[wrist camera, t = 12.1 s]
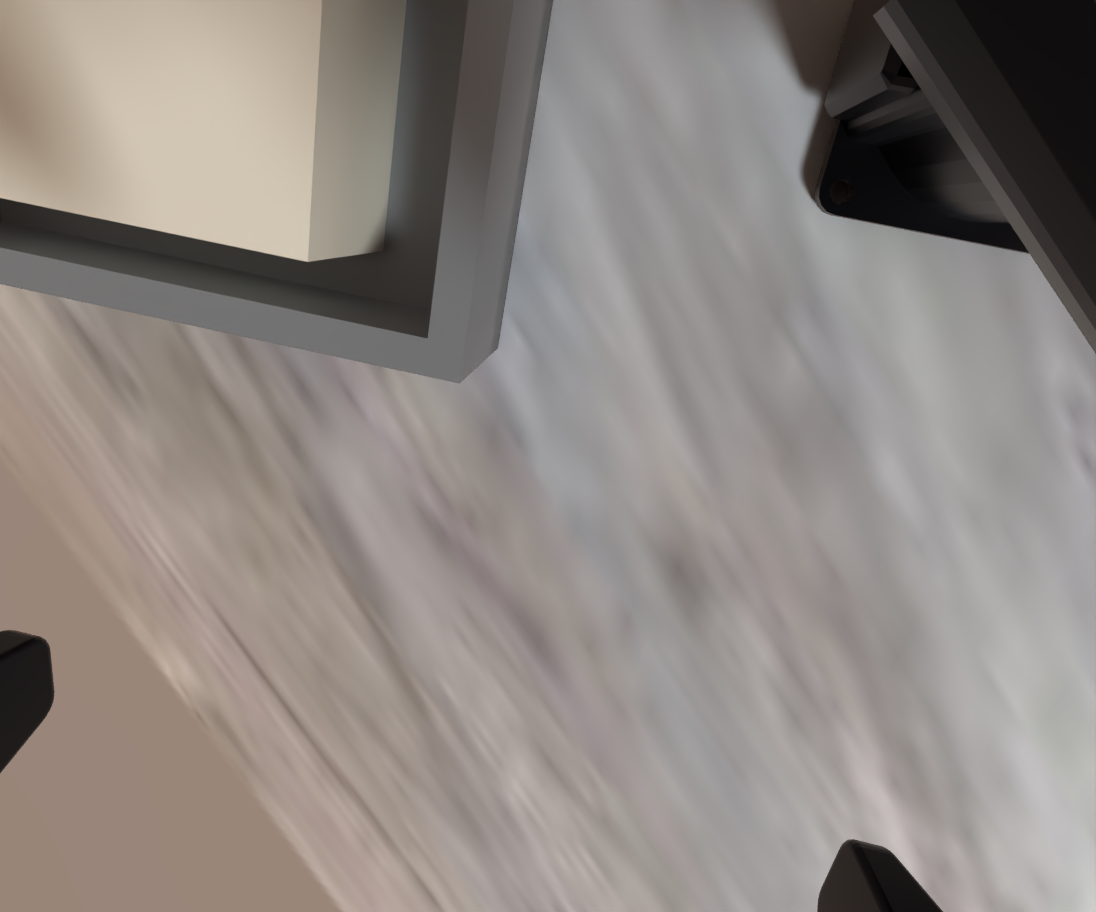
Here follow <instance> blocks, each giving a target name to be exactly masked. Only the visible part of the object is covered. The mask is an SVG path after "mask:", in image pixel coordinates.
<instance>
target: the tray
mask: <svg viewBox="0 0 1096 912" xmlns="http://www.w3.org/2000/svg"><path fill="white" fill-rule="evenodd" d="M552 4H553V0H407V1H406V12H405V23H404V33H403V44H402V55H401V66H400V76H399V87H398V98H397V109H396V119H395V130H394V141H393V151H392V162H391V173H390V184H389V194H388V205H387V216H386V227H385V237H384V248H383V251H380V252H373V253H366V254H359V255H352V256H345V257H338V258H331V259H324V260H317V261H311V262H306V261H301V260H296V259H291V258H287V257H282V256H277V255H272V254H267V253H263V252H258V251H253V250H248V249H243V248H239V247H234V246H229V245H224V244H219V243H215V242H210V241H205V240H200V239H195V238H191V237H186V236H181V235H176V234H171V233H166V232H162V231H157V230H152V229H147V228H142V227H138V226H133V225H128V224H123V223H118V222H114V221H109V220H104V219H99V218H94V217H90V216H85V215H80V214H75V213H70V212H66V211H61V210H56V209H51V208H46V207H42V206H37V205H32V204H27V203H22V202H18V201H13V200H8V199H3V198H0V284H3V285H7V286H12V287H17V288H21V289H26V290H30V291H35V292H40V293H44V294H49V295H54V296H58V297H63V298H67V299H72V300H77V301H81V302H86V303H91V304H95V305H100V306H104V307H109V308H114V309H118V310H123V311H128V312H132V313H137V314H141V315H146V316H151V317H155V318H160V319H164V320H169V321H174V322H178V323H183V324H188V325H192V326H197V327H201V328H206V329H211V330H215V331H220V332H225V333H229V334H234V335H238V336H243V337H248V338H252V339H257V340H262V341H266V342H271V343H275V344H280V345H285V346H289V347H294V348H299V349H303V350H308V351H312V352H317V353H322V354H326V355H331V356H336V357H340V358H345V359H349V360H354V361H359V362H363V363H368V364H373V365H377V366H382V367H386V368H391V369H396V370H400V371H405V372H409V373H414V374H419V375H423V376H428V377H433V378H437V379H442V380H446V381H451V382H456V383H461V382H462V381H463V380H464V379H465V378H466V377H467V376H468V375H469V374H470V373H471V372H472V371H474V370H475V369H476V368H477V367H478V366H479V365H480V364H481V363H482V362H483V361H484V360H485V359H487V358H488V357H489V356H490V355H491V354H492V353H493V352H494V351H495V350H496V349H497V348H498V343H499V337H500V330H501V324H502V318H503V312H504V305H505V299H506V293H507V286H508V280H509V274H510V268H511V261H512V255H513V249H514V242H515V236H516V230H517V224H518V217H519V211H520V205H521V198H522V192H523V186H524V180H525V173H526V167H527V161H528V154H529V148H530V142H531V136H532V129H533V123H534V117H535V110H536V104H537V98H538V92H539V85H540V79H541V73H542V66H543V60H544V54H545V48H546V41H547V35H548V29H549V22H550V16H551V10H552Z"/></svg>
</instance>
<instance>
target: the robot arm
mask: <svg viewBox="0 0 1096 912" xmlns="http://www.w3.org/2000/svg"><path fill="white" fill-rule="evenodd" d="M824 106H825V108H826V110H827V112H828V114H829V116H830V117H831V118H834V119H837V120H836V123H835V126H834V129H833V133H832V136H831V139H830V143H829V146H828V149H827V152H826V156H825V159H824V162H823V166H822V169H821V172H820V176H819V179H818V182H817V185H816V190H815V200H816V204H817V206H818V207H819V208H820V209H821V211H822V212H824V213H827V214H829V215H832V216H837V217H843V218H848V219H853V220H858V221H863V222H868V223H873V224H879V225H884V226H889V227H894V228H899V229H904V230H910V231H915V232H920V233H925V234H930V235H935V236H940V237H946V238H951V239H956V240H961V241H966V242H971V243H976V244H982V245H987V246H992V247H997V248H1002V249H1007V250H1012V251H1018V252H1023V253H1028V254H1030V255H1031V256H1032V258H1033V259H1034V261H1035V262H1036V264H1037V265H1038V267H1039V268H1040V270H1041V271H1042V273H1043V274H1044V276H1045V278H1046V279H1047V281H1048V282H1049V284H1050V285H1051V287H1052V288H1053V290H1054V291H1055V293H1056V294H1057V296H1058V297H1059V299H1060V300H1061V302H1062V303H1063V305H1064V306H1065V308H1066V309H1067V311H1068V312H1069V314H1070V315H1071V317H1072V318H1073V320H1074V321H1075V323H1076V325H1077V326H1078V328H1079V329H1080V331H1081V332H1082V334H1083V335H1084V337H1085V338H1086V340H1087V341H1088V343H1089V344H1090V346H1091V347H1092V349H1093V350H1094V352H1095V353H1096V0H855V2H854V5H853V8H852V12H851V15H850V18H849V22H848V25H847V29H846V32H845V35H844V39H843V42H842V46H841V49H840V52H839V56H838V59H837V63H836V66H835V69H834V73H833V76H832V79H831V83H830V86H829V90H828V93H827V96H826V100H825V104H824ZM840 180H841V181H843V182H845V183H847V185H848V187H849V195H848V197H847V198H846V200H845V201H843V202H842V203H840V204H837V203H835V202H833V200H832V198H831V197H830V191H831V188H832V186H833V185H834V184H835V183H836V182H838V181H840ZM53 684H54V683H53V674H52V663H51V653H50V647H49V644H48V643H47V641H46V640H45V639H43V638H42V637H39V636H35V635H31V634H27V633H23V632H19V631H12V630H7V631H1V632H0V773H1V772H2V770H3V769H4V768H5V767H6V766H7V764H8V763H9V762H10V761H11V759H12V758H13V757H14V756H15V754H16V753H17V752H18V751H19V750H20V748H21V747H22V746H23V745H24V743H25V742H26V741H27V740H28V738H29V737H30V736H31V735H32V734H33V732H34V731H35V730H36V729H37V727H38V726H39V725H40V724H41V722H42V721H43V720H44V719H45V717H46V716H47V714H48V712H49V710H50V708H51V706H52V703H53V700H54V685H53ZM818 912H943V911H942V910H941V909H940V907H939V906H938V905H937V904H936V903H935V902H934V900H933V899H932V898H931V897H930V896H929V895H928V893H927V892H926V891H925V890H924V889H923V888H922V887H921V885H920V884H919V883H918V882H917V881H916V880H915V878H914V877H913V876H912V875H911V874H910V873H909V871H908V870H907V869H906V868H905V867H904V866H903V864H902V863H901V862H900V861H899V860H898V859H897V857H896V856H895V855H894V854H893V853H892V852H891V851H889V850H888V849H886V848H884V847H882V846H878V845H874V844H870V843H866V842H862V841H858V840H854V839H852V840H847V841H846V842H844V843H843V844H842V846H841V847H840V849H839V851H838V854H837V856H836V858H835V860H834V862H833V864H832V866H831V869H830V871H829V873H828V875H827V877H826V879H825V881H824V884H823V886H822V888H821V891H820V894H819V898H818Z"/></svg>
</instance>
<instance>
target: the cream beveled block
mask: <svg viewBox="0 0 1096 912" xmlns="http://www.w3.org/2000/svg"><path fill="white" fill-rule="evenodd" d="M406 1H407V0H0V198H3V199H8V200H13V201H18V202H22V203H27V204H32V205H37V206H42V207H46V208H51V209H56V210H61V211H66V212H70V213H75V214H80V215H85V216H90V217H94V218H99V219H104V220H109V221H114V222H118V223H123V224H128V225H133V226H138V227H142V228H147V229H152V230H157V231H162V232H166V233H171V234H176V235H181V236H186V237H191V238H195V239H200V240H205V241H210V242H215V243H219V244H224V245H229V246H234V247H239V248H243V249H248V250H253V251H258V252H263V253H267V254H272V255H277V256H282V257H287V258H291V259H296V260H301V261H306V262H311V261H317V260H324V259H331V258H338V257H345V256H352V255H359V254H366V253H373V252H380V251H383V248H384V237H385V227H386V216H387V205H388V194H389V184H390V173H391V162H392V151H393V141H394V130H395V119H396V109H397V98H398V87H399V76H400V66H401V55H402V44H403V33H404V23H405V12H406Z"/></svg>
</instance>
